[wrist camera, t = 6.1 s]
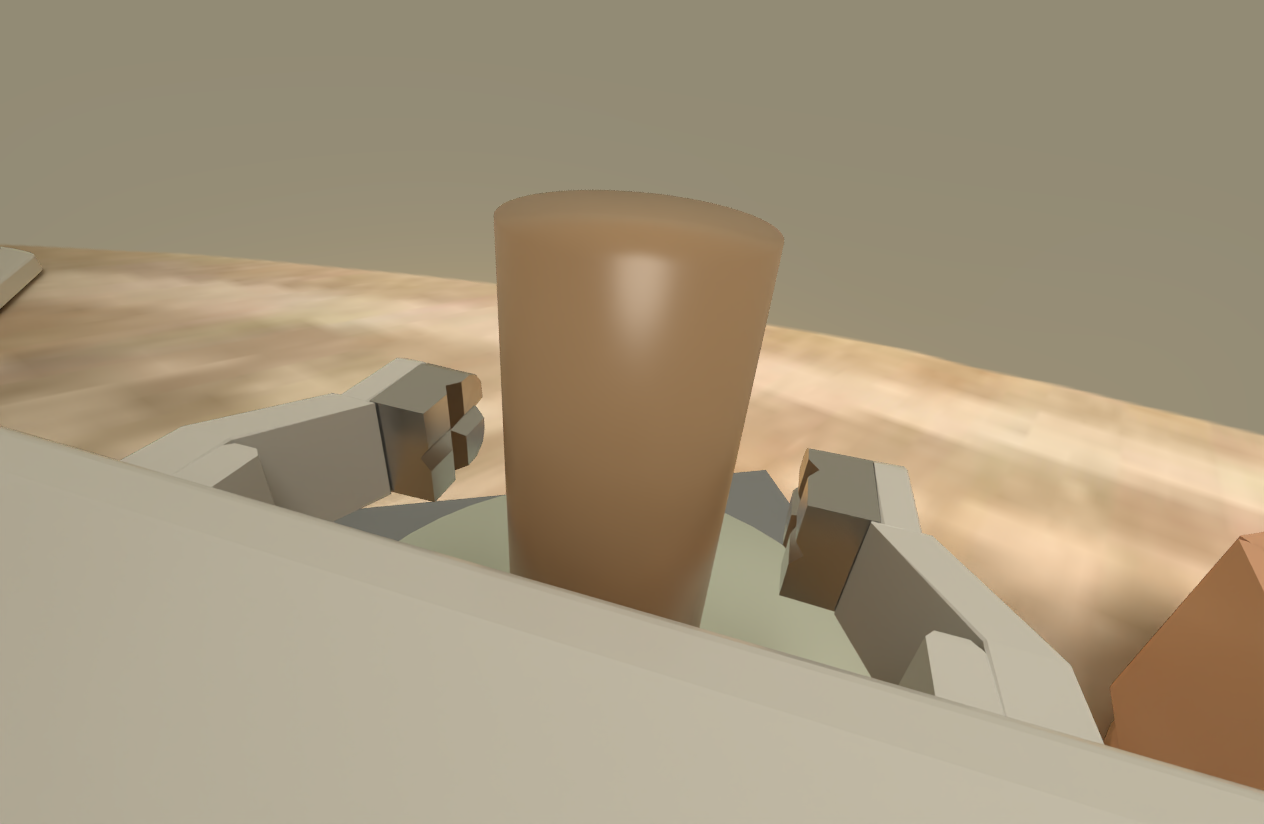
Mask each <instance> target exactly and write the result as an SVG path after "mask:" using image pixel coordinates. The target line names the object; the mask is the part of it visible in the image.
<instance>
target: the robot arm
mask: <svg viewBox="0 0 1264 824" xmlns="http://www.w3.org/2000/svg"><path fill="white" fill-rule="evenodd" d="M42 269H43V267H42V266H41V264H40V263H39V261H38V259H37V258H36V256H35V255H34V254H33V253H31V252H27V251H23V250H19V249H13V248H7V247H0V309H1V308H2V307H3V306H4V305H5V304H6V303H7V302H8V301H9V300H10V299H11V298H13V297H14V296H15V295H16V294H17V293H18V292H19V291H20V290H21V289H22V288H24V287H25V286H26V285H27V284H28V283H29V282H30V281H31V280H32V279H33V278H34V277H36V276H37V275H38V274H39V273H40V272H41V271H42ZM481 398H482V387H481V381H480V379H479V378H478V377H477V376H476V375H475V374H471V373H467V372H463V371H458V370H454V369H450V368H446V367H442V366H438V365H434V364H429V363H425V362H422V361H417V360H412V359H407V358H396V359H394V360H393V361H391V362H390V363H388V364H387V365H385V366H384V367H382V368H381V369H379V370H378V371H376V372H375V373H373V374H372V375H370V376H369V377H367V378H366V379H364V380H363V381H361V382H359V383H358V384H356V385H355V386H353V387H352V388H350V389H349V390H347V391H346V392H344V393H343V394H341V395H339V394H335V393H331V394H327V395H322V396H318V397H313V398H309V399H304V400H300V401H295V402H290V403H286V404H281V405H277V406H272V407H268V408H263V409H259V410H254V411H250V412H245V413H241V414H236V415H232V416H227V417H222V418H218V419H213V420H209V421H204V422H200V423H195V424H191V425H186V426H182V427H180V428H178V429H176V430H174V431H173V432H171V433H169V434H167V435H165V436H163V437H162V438H160V439H158V440H156V441H154V442H152V443H151V444H149V445H147V446H145V447H143V448H142V449H140V450H138V451H136V452H134V453H132V454H131V455H129V456H127V457H125V458H123V459H121V460H120V461H119V460H116V459H113V458H109V457H106V456H102V455H99V454H95V453H92V452H88V451H85V450H81V449H78V448H75V447H71V446H68V445H64V444H61V443H57V442H54V441H50V440H47V439H43V438H40V437H36V436H33V435H30V434H26V433H23V432H19V431H16V430H12V429H9V428H5V427H2V426H0V824H1264V791H1263V790H1260V789H1256V788H1253V787H1249V786H1246V785H1242V784H1239V783H1236V782H1232V781H1229V780H1225V779H1222V778H1218V777H1215V776H1211V775H1208V774H1204V773H1201V772H1197V771H1194V770H1190V769H1187V768H1184V767H1180V766H1177V765H1173V764H1170V763H1166V762H1163V761H1159V760H1156V759H1152V758H1149V757H1145V756H1142V755H1138V754H1135V753H1132V752H1128V751H1125V750H1121V749H1118V748H1114V747H1111V746H1107V745H1104V742H1103V740H1102V738H1101V735H1100V733H1099V730H1098V728H1097V726H1096V723H1095V721H1094V719H1093V716H1092V714H1091V712H1090V709H1089V707H1088V704H1087V702H1086V700H1085V697H1084V695H1083V693H1082V690H1081V688H1080V685H1079V683H1078V681H1077V678H1076V676H1075V674H1074V671H1073V669H1072V667H1071V665H1070V664H1069V663H1068V662H1067V661H1066V660H1065V659H1064V658H1063V657H1062V656H1061V655H1060V654H1058V653H1057V652H1056V651H1055V650H1054V649H1053V648H1052V647H1051V646H1050V645H1049V644H1048V643H1047V642H1046V641H1045V640H1043V639H1042V638H1041V637H1040V636H1039V635H1038V634H1037V633H1036V632H1035V631H1034V630H1033V629H1032V628H1031V627H1030V626H1028V625H1027V624H1026V623H1025V622H1024V621H1023V620H1022V619H1021V618H1020V617H1019V616H1018V615H1017V614H1016V613H1015V612H1013V611H1012V610H1011V609H1010V608H1009V607H1008V606H1007V605H1006V604H1005V603H1004V602H1003V601H1002V600H1001V599H999V598H998V597H997V596H996V595H995V594H994V593H993V592H992V591H991V590H990V589H989V588H988V587H987V586H986V585H984V584H983V583H982V582H981V581H980V580H979V579H978V578H977V577H976V576H975V575H974V574H973V573H972V572H971V571H969V570H968V569H967V568H966V567H965V566H964V565H963V564H962V563H961V562H960V561H959V560H958V559H957V558H956V557H954V556H953V555H952V554H951V553H950V552H949V551H948V550H947V549H946V548H945V547H944V546H943V545H942V544H941V543H939V542H938V541H937V540H936V539H935V538H934V537H933V536H931V535H927V534H922V530H921V526H920V522H919V517H918V513H917V509H916V504H915V500H914V496H913V491H912V487H911V483H910V478H909V474H908V470H907V469H906V468H905V467H904V466H899V465H893V464H887V463H882V462H876V461H871V460H866V459H860V458H855V457H850V456H845V455H840V454H835V453H830V452H825V451H819V450H814V449H809V448H807V449H806V451H805V454H804V456H803V460H802V463H801V466H800V471H799V486H798V488H796V489H795V490H793V493H792V497H791V501H790V504H789V509H788V513H787V517H786V522H785V529H784V537H783V546H784V547H785V548H786V550H785V553H784V556H783V560H782V563H781V574H780V588H779V595H780V596H784V597H787V598H790V599H794V600H797V601H800V602H804V603H807V604H811V605H814V606H817V607H821V608H824V609H827V610H831V611H834V612H835V613H834V615H835V617H836V618H837V620H838V622H839V623H840V625H841V627H842V628H843V630H844V632H845V634H846V635H847V637H848V639H849V640H850V642H851V644H852V645H853V647H854V649H855V650H856V652H857V654H858V656H859V657H860V659H861V661H862V662H863V664H864V666H865V667H866V669H867V671H868V672H869V674H870V676H871V677H867V676H864V675H861V674H857V673H854V672H850V671H847V670H843V669H840V668H836V667H833V666H829V665H826V664H823V663H819V662H816V661H812V660H809V659H805V658H802V657H798V656H795V655H791V654H788V653H784V652H781V651H778V650H774V649H771V648H767V647H764V646H760V645H757V644H753V643H750V642H746V641H743V640H740V639H736V638H733V637H729V636H726V635H722V634H719V633H715V632H712V631H708V630H705V629H701V628H698V627H695V626H691V625H688V624H684V623H681V622H677V621H674V620H670V619H667V618H663V617H660V616H657V615H653V614H650V613H646V612H643V611H639V610H636V609H632V608H629V607H625V606H622V605H619V604H615V603H612V602H608V601H605V600H601V599H598V598H594V597H591V596H587V595H584V594H580V593H577V592H573V591H570V590H566V589H563V588H560V587H556V586H553V585H549V584H546V583H542V582H539V581H535V580H532V579H528V578H525V577H521V576H518V575H514V574H511V573H507V572H504V571H500V570H497V569H493V568H490V567H486V566H483V565H479V564H476V563H472V562H469V561H465V560H462V559H459V558H455V557H452V556H448V555H445V554H441V553H438V552H434V551H431V550H427V549H424V548H420V547H417V546H414V545H410V544H407V543H403V542H400V541H396V540H393V539H389V538H386V537H382V536H379V535H376V534H372V533H369V532H365V531H362V530H358V529H355V528H351V527H348V526H344V525H341V524H337V523H334V522H333V521H335V520H337V519H340V518H342V517H344V516H346V515H348V514H350V513H352V512H354V511H356V510H359V509H361V508H363V507H365V506H367V505H369V504H371V503H373V502H375V501H377V500H380V499H382V498H384V497H386V496H388V495H390V494H391V492H395V493H399V494H403V495H407V496H411V497H415V498H420V499H424V500H428V501H432V502H436V501H437V499H438V498H439V497H440V496H441V495H442V494H443V493H444V492H445V491H446V490H447V488H448V487H449V486H450V485H451V484H452V483H453V482H454V481H455V480H456V479H455V470H457V469H460V468H462V467H465V466H468V465H469V464H470V463H471V462H472V461H473V459H474V458H475V457H476V456H477V454H478V451H479V449H480V447H481V444H482V442H483V436H484V417H483V416H482V414H481V413H480V411H479V410H478V408H477V407H476V404H477V403H478V402H479V401H480V400H481Z"/></svg>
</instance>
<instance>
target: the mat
mask: <svg viewBox="0 0 1264 824" xmlns="http://www.w3.org/2000/svg"><path fill="white" fill-rule="evenodd" d="M499 496H503V495H499ZM499 496H488V497H478V498H467V499H457V500H446V501H436V502H425V503H415V504H405V505H394V506H384V507H373V508H363V509H359V510H356V511H354V512H352V513H350V514H348V515H346V516H344V517H342V518H340V519H337V520H335V521H333V522H334V523H337V524H341V525H344V526H348V527H351V528H355V529H358V530H362V531H365V532H369V533H372V534H376V535H379V536H382V537H386V538H389V539H393V540H396V541H400V540H401V539H403V538H404V537H406V536H407V535H409V534H410V533H412V532H414V531H416V530H418V529H420V528H422V527H424V526H426V525H428V524H429V523H431V522H433V521H435V520H437V519H439V518H441V517H444V516H446V515H448V514H451V513H453V512H456V511H458V510H460V509H463V508H465V507H468V506H470V505H473V504H477V503H480V502H483V501H486V500H489V499H493V498H496V497H499ZM788 509H789V502H788V501H787V499H786V498H785V497H784V495H783V494H782V492H781V491H780V490H779V488H778V487H777V485H776V484H775V482H774V481H773V480H772V478H771V477H770V475H769V474H768V473H767V471H766V470H761V471H751V472H740V473H733V477H732V482H731V486H730V491H729V495H728V500H727V505H726V509H725V513H726V514H728V515H730V516H732V517H734V518H736V519H738V520H740V521H742V522H744V523H746V524H748V525H750V526H752V527H754V528H756V529H757V530H759V531H761V532H762V533H764V534H766V535H767V536H769V537H771V538H772V539H774V540H776V541H777V542H779V543H780V544H782V545H783V537H784V529H785V522H786V517H787V513H788Z"/></svg>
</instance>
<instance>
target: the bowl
mask: <svg viewBox="0 0 1264 824" xmlns="http://www.w3.org/2000/svg"><path fill="white" fill-rule="evenodd" d="M1110 692H1111V699H1112V706H1113V712H1114V721H1113V722H1112V723H1111V725H1110V727H1109V729H1108V732H1107V734H1106V736H1105V738H1104V740H1103V742H1104V745H1107V746H1111V747H1114V748H1118V749H1121V750H1125V751H1128V752H1132V753H1135V754H1138V755H1142V756H1145V757H1149V758H1152V759H1156V760H1159V761H1163V762H1166V763H1170V764H1173V765H1177V766H1180V767H1184V768H1187V769H1190V770H1194V771H1197V772H1201V773H1204V774H1208V775H1211V776H1215V777H1218V778H1222V779H1225V780H1229V781H1232V782H1236V783H1239V784H1242V785H1246V786H1249V787H1253V788H1256V789H1260V790H1263V791H1264V532H1261V533H1255V534H1249V535H1242V536H1240V537H1239V538H1238V539H1237V540H1236V541H1235V542H1234V544H1233V545H1232V546H1231V547H1230V548H1229V549H1228V551H1227V552H1226V553H1225V554H1224V555H1223V556H1222V557H1221V559H1220V560H1219V561H1218V562H1217V563H1216V564H1215V566H1214V567H1213V568H1212V569H1211V570H1210V571H1209V572H1208V574H1207V575H1206V576H1205V577H1204V578H1203V579H1202V580H1201V582H1200V583H1199V584H1198V585H1197V586H1196V587H1195V589H1194V590H1193V591H1192V592H1191V593H1190V594H1189V595H1188V597H1187V598H1186V599H1185V600H1184V601H1183V602H1182V604H1181V605H1180V606H1179V607H1178V608H1177V609H1176V610H1175V612H1174V613H1173V614H1172V615H1171V616H1170V617H1169V619H1168V620H1167V621H1166V622H1165V623H1164V624H1163V625H1162V627H1161V628H1160V629H1159V630H1158V631H1157V632H1156V633H1155V635H1154V636H1153V637H1152V638H1151V639H1150V640H1149V642H1148V643H1147V644H1146V645H1145V646H1144V647H1143V648H1142V650H1141V651H1140V652H1139V653H1138V654H1137V655H1136V657H1135V658H1134V659H1133V660H1132V661H1131V662H1130V663H1129V665H1128V666H1127V667H1126V668H1125V669H1124V670H1123V671H1122V673H1121V674H1120V675H1119V676H1118V677H1117V678H1116V680H1115V681H1114V682H1113V683H1112V685H1111V686H1110Z"/></svg>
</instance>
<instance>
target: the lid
mask: <svg viewBox="0 0 1264 824" xmlns="http://www.w3.org/2000/svg"><path fill="white" fill-rule="evenodd" d="M494 231H495V253H496V274H497V275H496V276H497V298H498V320H499V343H500V365H501V387H502V410H503V432H504V454H505V476H506V495H503V496H499V497H496V498H493V499H489V500H486V501H483V502H480V503H477V504H473V505H470V506H468V507H465V508H463V509H460V510H458V511H456V512H453V513H451V514H448V515H446V516H444V517H441V518H439V519H437V520H435V521H433V522H431V523H429V524H428V525H426V526H424V527H422V528H420V529H418V530H416V531H414V532H412V533H410V534H409V535H407V536H406V537H404V538H403V539H401V540H400V542H403V543H407V544H410V545H414V546H417V547H420V548H424V549H427V550H431V551H434V552H438V553H441V554H445V555H448V556H452V557H455V558H459V559H462V560H465V561H469V562H472V563H476V564H479V565H483V566H486V567H490V568H493V569H497V570H500V571H504V572H507V573H511V574H514V575H518V576H521V577H525V578H528V579H532V580H535V581H539V582H542V583H546V584H549V585H553V586H556V587H560V588H563V589H566V590H570V591H573V592H577V593H580V594H584V595H587V596H591V597H594V598H598V599H601V600H605V601H608V602H612V603H615V604H619V605H622V606H625V607H629V608H632V609H636V610H639V611H643V612H646V613H650V614H653V615H657V616H660V617H663V618H667V619H670V620H674V621H677V622H681V623H684V624H688V625H691V626H695V627H698V628H701V629H705V630H708V631H712V632H715V633H719V634H722V635H726V636H729V637H733V638H736V639H740V640H743V641H746V642H750V643H753V644H757V645H760V646H764V647H767V648H771V649H774V650H778V651H781V652H784V653H788V654H791V655H795V656H798V657H802V658H805V659H809V660H812V661H816V662H819V663H823V664H826V665H829V666H833V667H836V668H840V669H843V670H847V671H850V672H854V673H857V674H861V675H864V676H867V677H871V676H870V674H869V672H868V671H867V669H866V667H865V666H864V664H863V662H862V661H861V659H860V657H859V656H858V654H857V652H856V650H855V649H854V647H853V645H852V644H851V642H850V640H849V639H848V637H847V635H846V634H845V632H844V630H843V628H842V627H841V625H840V623H839V622H838V620H837V618H836V617H835V615H834V613H835V612H834V611H831V610H827V609H824V608H821V607H817V606H814V605H811V604H807V603H804V602H800V601H797V600H794V599H790V598H787V597H784V596H780V595H779V588H780V574H781V563H782V560H783V556H784V553H785V550H786V548H785V547H784V546H783V545H782V544H780V543H779V542H777V541H776V540H774V539H772V538H771V537H769V536H767V535H766V534H764V533H762V532H761V531H759V530H757V529H756V528H754V527H752V526H750V525H748V524H746V523H744V522H742V521H740V520H738V519H736V518H734V517H732V516H730V515H728V514H726V513H725V509H726V505H727V500H728V495H729V491H730V486H731V482H732V477H733V473H734V468H735V464H736V459H737V455H738V450H739V445H740V441H741V436H742V432H743V427H744V423H745V418H746V414H747V409H748V404H749V400H750V395H751V391H752V386H753V382H754V377H755V373H756V368H757V363H758V359H759V354H760V350H761V345H762V341H763V336H764V332H765V327H766V322H767V318H768V313H769V309H770V304H771V300H772V295H773V290H774V286H775V282H776V277H777V272H778V267H779V263H780V258H781V254H782V249H783V245H784V237H783V235H782V234H781V232H780V231H779V230H778V229H777V228H775V227H774V226H772V225H771V224H769V223H768V222H766V221H764V220H762V219H760V218H757V217H755V216H753V215H750V214H747V213H744V212H742V211H738V210H735V209H732V208H729V207H725V206H721V205H717V204H713V203H709V202H704V201H699V200H694V199H689V198H682V197H676V196H670V195H662V194H653V193H644V192H632V191H615V190H573V191H572V190H570V191H556V192H546V193H539V194H533V195H528V196H524V197H519V198H516V199H513V200H510V201H508V202H506V203H504V204H502V205H501V206H499V207H498V208H497V209H496V211H495V212H494Z"/></svg>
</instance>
